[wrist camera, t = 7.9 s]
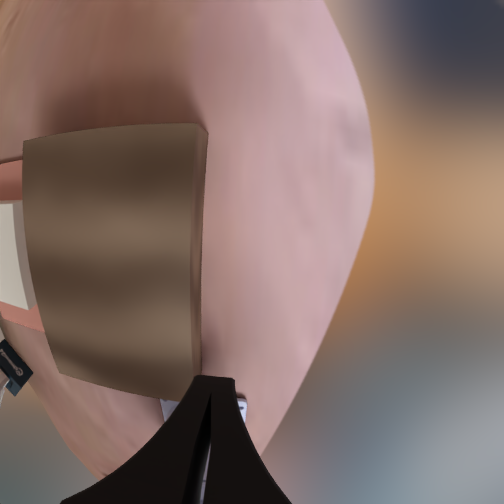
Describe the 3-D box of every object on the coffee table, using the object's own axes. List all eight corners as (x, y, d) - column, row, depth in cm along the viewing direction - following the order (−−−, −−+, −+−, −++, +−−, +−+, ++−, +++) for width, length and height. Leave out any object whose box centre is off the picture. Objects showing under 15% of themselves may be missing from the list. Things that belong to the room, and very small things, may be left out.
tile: (-8, 298, 17) (4, 290, 19) (28, 310, 17) (41, 300, 19) (-23, 204, 14) (-9, 201, 16) (12, 203, 14) (28, 199, 16)
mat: (74, 338, 21) (72, 340, 20) (4, 316, 20) (2, 318, 20) (53, 155, 16) (50, 155, 15) (-16, 168, 15) (-19, 168, 15)
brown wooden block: (201, 369, 21) (194, 403, 17) (78, 347, 21) (59, 372, 17) (208, 133, 16) (197, 123, 12) (57, 142, 16) (23, 141, 12)
